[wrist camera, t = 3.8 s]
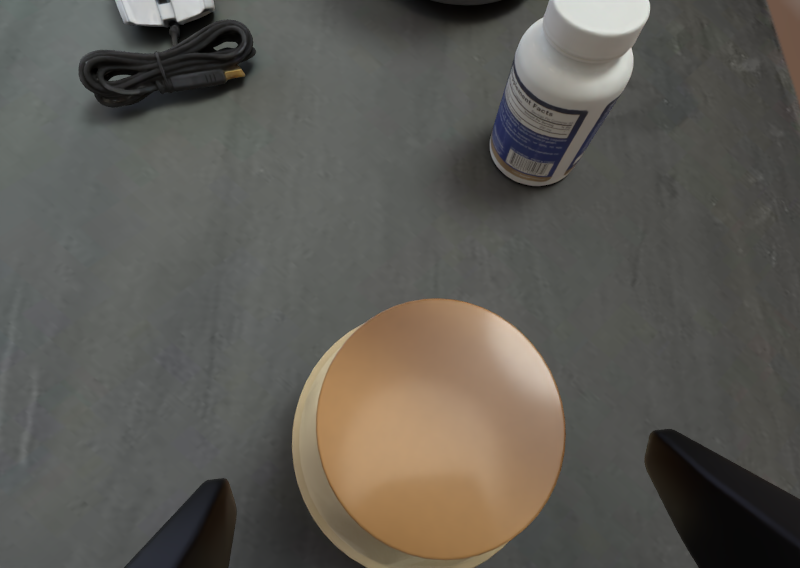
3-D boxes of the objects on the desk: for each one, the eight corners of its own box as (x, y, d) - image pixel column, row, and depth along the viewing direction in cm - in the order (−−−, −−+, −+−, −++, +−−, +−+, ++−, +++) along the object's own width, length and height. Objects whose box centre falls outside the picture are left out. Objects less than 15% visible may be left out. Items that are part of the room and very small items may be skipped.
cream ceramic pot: (453, 595, 19) (474, 644, 14) (274, 473, 20) (238, 480, 15) (543, 400, 22) (584, 386, 17) (380, 307, 23) (377, 271, 18)
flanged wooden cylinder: (454, 569, 15) (518, 694, 7) (297, 464, 16) (211, 477, 8) (533, 400, 17) (647, 360, 9) (389, 317, 18) (386, 221, 10)
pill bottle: (547, 106, 28) (620, -58, 19) (591, 171, 26) (696, 24, 17) (472, 133, 27) (511, -26, 18) (513, 201, 26) (579, 64, 16)
